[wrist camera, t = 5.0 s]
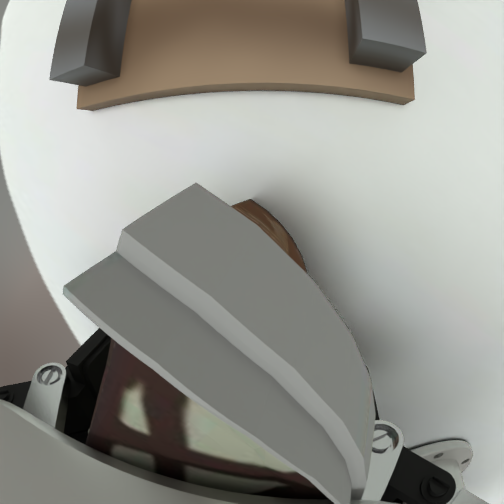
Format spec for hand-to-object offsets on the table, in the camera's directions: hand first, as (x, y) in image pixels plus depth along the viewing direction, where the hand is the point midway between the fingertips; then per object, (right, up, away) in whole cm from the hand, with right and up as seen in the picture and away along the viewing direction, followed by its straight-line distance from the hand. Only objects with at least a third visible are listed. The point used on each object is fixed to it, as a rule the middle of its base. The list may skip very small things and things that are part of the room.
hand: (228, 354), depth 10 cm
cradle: (0, +19, -3) cm, 19 cm away
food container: (+1, +1, +3) cm, 3 cm away
